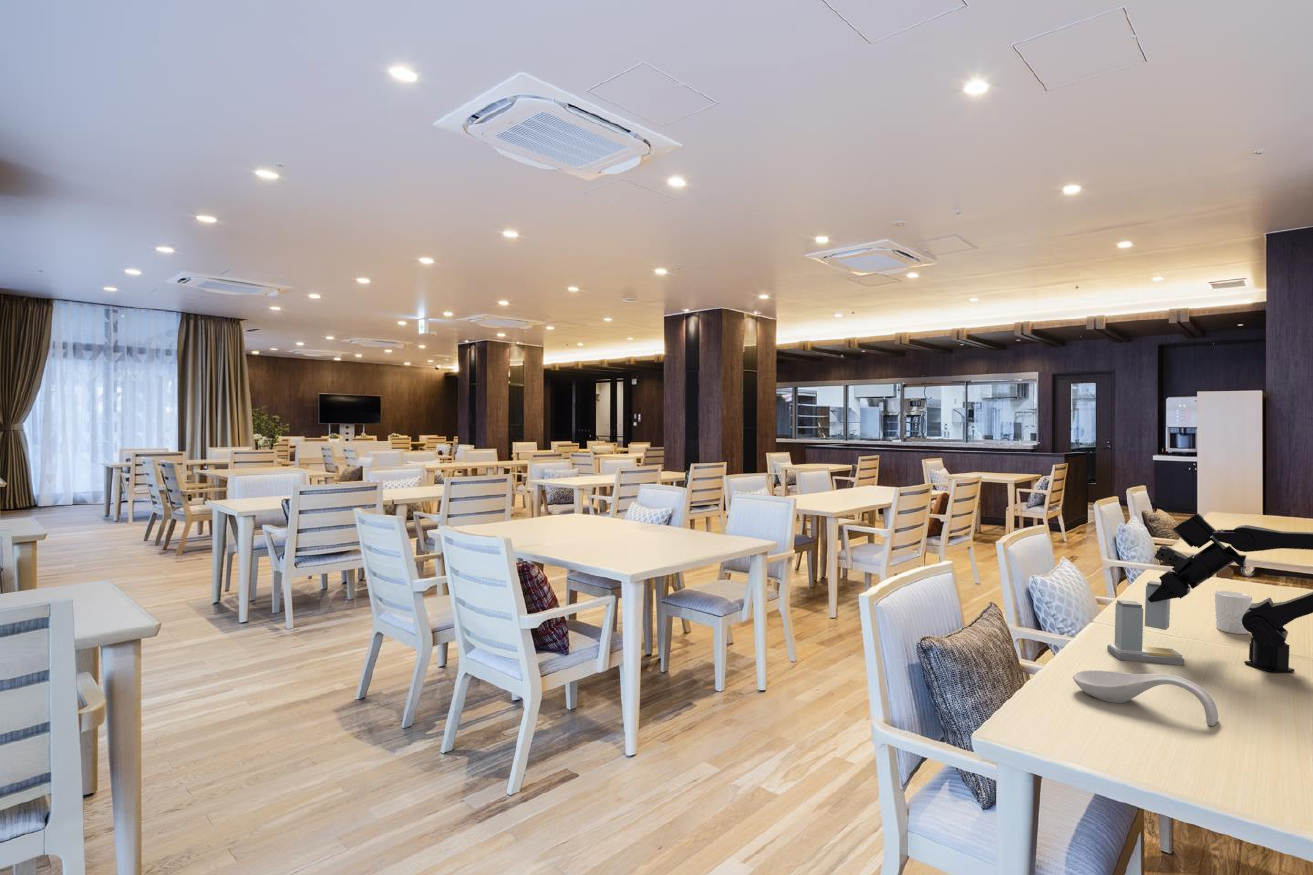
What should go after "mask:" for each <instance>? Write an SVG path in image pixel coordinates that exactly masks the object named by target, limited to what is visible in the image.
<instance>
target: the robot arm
mask: <svg viewBox="0 0 1313 875" xmlns="http://www.w3.org/2000/svg"><path fill="white" fill-rule="evenodd" d="M1171 530H1172V531H1173V533H1174V534H1176V535H1177V537H1179V538H1180V539H1181V540H1182V541H1183V542H1184V543H1186V544H1187V546H1189V547H1190V548H1193V547H1194V548H1198V549H1201V548H1202V547H1203V546H1205V545H1207V544H1209V542H1212V543H1211V544H1210V545H1208V546H1206V547H1205V548H1203V549H1202V550H1201V551H1199V552H1197V553H1195V554H1191V555H1190V556H1186V555H1185V554H1184V553H1182V552H1180V551H1177V550H1176V549H1174V548H1172V547H1169V546H1168V545H1165V544H1163V545H1160V547H1159V548H1158V550H1157V551H1156V553H1155V554H1154V556H1153V558H1154V559H1156V560H1157V561H1162V562H1163V563H1166V564H1168V565H1170V566H1171V567H1172V568H1171V570H1168V571H1166V572H1165V573H1163V574H1162V575H1160V576H1159V577H1158V578H1159V580H1160V582H1161V585H1160V586H1159V588H1158V589H1157V590H1156V591H1155V592H1154V593H1153V594H1152V595H1151V596H1150V597H1149V598H1148V600H1149V601H1150V602H1157V601H1162V600H1167V599H1170V600H1172V599H1180V600H1181V599H1183V598H1184V597H1186V596H1187V595H1189V594H1190V593H1191V590H1193V589H1196V588H1197V587H1199V586H1200V585H1201V584H1203V583H1204V582H1205V581H1206V580H1209V579H1210V578H1212V577H1214V576H1215V575H1216V574H1217V573H1219V572H1221V571H1223V570H1225V569H1226V568H1228V567H1229V566H1231V565H1232V564H1233V563H1236V564H1237V565H1238V566H1239V567H1240V568H1244V567H1245V566H1246V559H1247V554H1240V553H1239V552H1243V553H1248V552H1250V553H1251V552H1253V553H1254V552H1260V551H1261V552H1262V551H1263V552H1264V551H1270V550H1271V551H1272V550H1278V549H1287V550H1288V549H1289V550H1307V551H1308V550H1311V551H1313V532H1310V531H1309V532H1307V531H1284V530H1283V531H1282V530H1276V529H1271V528H1267V527H1262V526H1255V525H1250V524H1249V525H1248V524H1244V525H1239V526H1237V527H1235V528H1234V529H1223V528H1221V529H1215V528H1214V527H1213V526H1212V525H1211V524H1210V523H1209V522H1208V521H1206V520H1205V519H1204V516H1202V514H1200V513H1196V514H1193V515H1192V516H1191V517H1190V518H1188V519H1186V520H1184V521H1182V522H1180V523H1179V524H1178V525H1176V526H1175V527H1174V528H1172V529H1171ZM1225 544H1227V545H1228V546H1225ZM1238 551H1239V552H1238ZM1310 614H1313V591H1311V592H1308V593H1306V594H1303V595H1300V596H1297V597H1295V598H1291V599H1288V600H1285V601H1278V602H1274V601H1273V600H1272V598H1271V597H1267V598H1266V599H1264V600H1262V601H1259V602H1256V603H1255V602H1252V604H1251V605H1250V607H1249V609H1248V610H1247V611H1246V612H1245V614H1244V615H1243V617H1242V624H1243V626H1244V628H1245V629H1246V630H1247V631H1248V633H1250V634H1251V635H1252V636H1251V637H1250V642H1249V644H1248V645H1249V647H1248V648H1249V650H1248V653H1249V654H1248V660H1243V661H1244V662H1243V663H1244V664H1246V665H1248V666H1251V667H1254V668H1257V669H1260V670H1263V671H1266V672H1268V673H1291V672H1292V673H1294V672H1296V671H1295V670H1296V669H1295V668H1293V667H1290V666H1289V665H1290V644H1288V643H1287V642H1286V641H1287V637H1288V634H1289V631H1288V630H1287V628H1285V627H1284V626H1286V625H1287V624H1289V623H1291V622H1293V621H1294V620H1296V619H1299V618H1301V617H1304V616H1308V615H1310Z"/></svg>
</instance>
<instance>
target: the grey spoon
mask: <svg viewBox="0 0 1313 875" xmlns="http://www.w3.org/2000/svg"><path fill="white" fill-rule="evenodd" d="M1072 679H1073V681H1074V682H1075V684H1076V685H1077V686H1078V687H1079V689H1081V691H1083V692H1084V693H1086V694H1087V695H1090V696H1091V697H1092V698H1095V699H1098V700H1099V701H1104V702H1107V703H1109V702H1110V703H1116V704H1124V703H1126V702H1127V703H1128V701H1129V700H1132V699H1134V698H1135V697H1137V696H1139V695H1141V694H1142V693H1144V692H1146V691H1148V690H1150V689H1152V688H1155V687H1157V686H1161V685H1171V686H1177V687H1180V688H1182V689H1184V690H1185V691H1188V692H1190V693H1191V695H1194V696H1195V697H1196V698H1197V699H1198V700H1199V701H1200V703H1201V704H1202V706H1203V710H1204V713H1205V719H1206V723H1207V725H1208V726H1210V727H1214V726H1215V725H1216V724H1217V722H1218V721H1219V714H1218V713H1219V712H1218V708H1217V706H1216V703H1215V701H1214V700H1213V698H1212V697H1211V695H1210V694H1209V692H1207V691H1206V690H1205V689H1204V688H1203V687H1201V686H1199V685H1198V684H1196V683H1195V682H1193V681H1192V680H1191V681H1190V680H1189V679H1187V678H1183V677H1181V676H1178V675H1174V674H1170V673H1169V674H1168V673H1166V674H1165V673H1152V674H1151V673H1149V674H1147V673H1145V674H1139V673H1138V674H1137V673H1125V672H1119V671H1117V672H1116V671H1112V670H1111V671H1110V670H1109V671H1108V670H1092V669H1091V670H1082V671H1078V672H1076V673H1074V674H1073V676H1072Z"/></svg>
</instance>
